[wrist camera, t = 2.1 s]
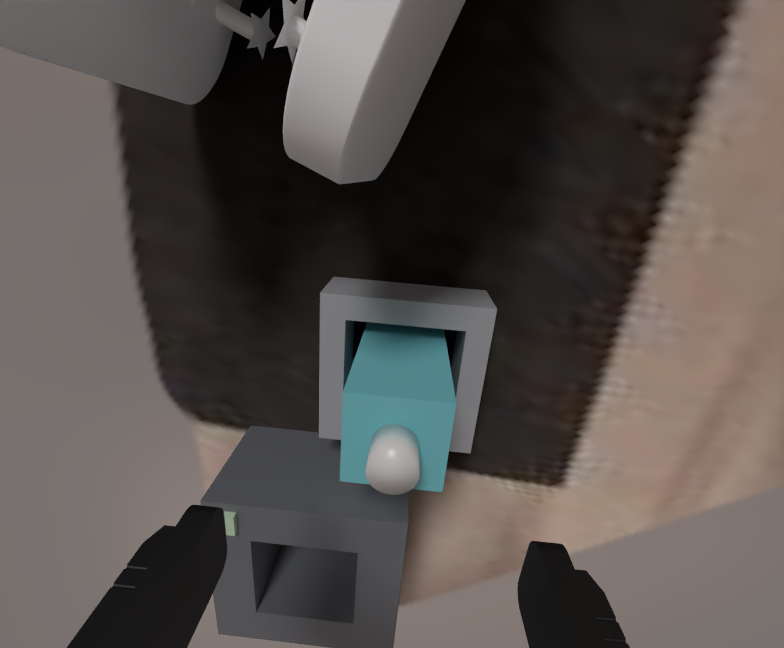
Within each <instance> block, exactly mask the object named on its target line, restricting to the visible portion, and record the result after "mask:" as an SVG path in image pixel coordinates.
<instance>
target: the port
mask: <svg viewBox="0 0 784 648" xmlns="http://www.w3.org/2000/svg"><path fill="white" fill-rule="evenodd" d="M340 457H341V440H336V439H326V438H319V432H309V431H300V430H290V429H280V428H271V427H261V426H250V428H249V429H248V431H247V432H246V434H245V435H244V437H243V438H242V440H241V441H240V443H239V444H238V446H237V447H236V449H235V450H234V452H233V453H232V455H231V456H230V458H229V459H228V461H227V462H226V463H225V465H224V466H223V468H222V469H221V471H220V472H219V474H218V475H217V477H216V478H215V480H214V481H213V483H212V484H211V486H210V487H209V489H208V490H207V492H206V493H205V495H204V496H203V498H202V499H201V506H211V507H220V508H222V509H223V510H224V518H225V528H226V539H227V557H226V562H225V566H224V569H223V572H222V575H221V577H220V579H219V581H218V583H217V585H216V587H215V590H214V592H213V596H214V603H215V610H216V618H217V626H218V632H219V634H223V635H231V636H240V637H249V638H256V639H265V640H273V641H281V642H290V643H298V644H306V645H314V646H323V647H331V648H393V644H394V636H395V628H396V619H397V612H398V604H399V596H400V588H401V579H402V571H403V563H404V555H405V547H406V539H407V531H408V518H409V491H408V492H406V493H403V494H398V495H390V494H385V493H382V492H379V491H378V490H376V489H374V488H373V487H372V486H371V485H370V484H361V483H352V482H342V481H340Z"/></svg>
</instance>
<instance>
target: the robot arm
mask: <svg viewBox="0 0 784 648" xmlns="http://www.w3.org/2000/svg"><path fill="white" fill-rule="evenodd" d="M226 557H227V539H226V528H225V518H224V510H223V509H222V508H220V507H211V506H201V505H192V506H190V507H189V508H188V509H187V510H186V512H185V513H184V515H183V516H182V518H181V519H180V521H179V522H178V524H177V525H176V527H175V526H165V525H164V526H163V527H162V528H161V529H160V530H158V531H157V532H156V533H155V534H153V535H152V536H151V537H150V538H148V539H147V540H146V541H145V542H144V543H143V544H142V545H141V547H140V548H139V549H138V551H137V552H136V553H135V555H134V556H133V557H132V559H131V560H130V562H129V563H128V564H127V568H126V569H124V570H123V571H122V573H121V574H120V575H119V577H118V578H117V579H116V581H115V582H114V585H113V587H112V588H110V589H109V590H108V592H107V593H106V595H105V596H104V597H103V599H102V600H101V601H100V603H99V604H98V605H97V607H96V608H95V610H94V611H93V612H92V614H91V615H90V616H89V618H88V619H87V621H86V622H85V623H84V625H83V626H82V628H81V629H80V630H79V632H78V633H77V634H76V636H75V637H74V639H73V640H72V641H71V643H70V644H69V645H68V647H67V648H187V646H188V644H189V642H190V640H191V638H192V636H193V634H194V632H195V630H196V627H197V625H198V623H199V621H200V619H201V617H202V614H203V613H204V611H205V609H206V606H207V604H208V602H209V600H210V598H211V596H212V594H213V592H214V590H215V587H216V585H217V583H218V581H219V579H220V577H221V575H222V572H223V569H224V566H225V562H226ZM518 602H519V608H520V612H521V616H522V620H523V624H524V628H525V632H526V636H527V640H528V644H529V648H630V647H629V645H628V644H626V641H625V639H626V638H625V637H624V634H623V632H622V630H621V628H620V626H619V623H617V622H616V617H615V615H614V613H613V611H612V608H611V606H610V604H609V602H608V600H607V598H606V595H605V593H604V592H603V591H602V589H601V588H600V587H599V586H598V585H597V583H596V582H595V581H594V580H593V578H592V577H591V576H590V575H589V574H588V572H587V571H584V570H575V569H574V567H573V564H572V562H571V559H570V557H569V554H568V552H567V550H566V548H565V547H564V546H563V545H562V544H557V543H547V542H538V541H531V542H530V544H529V547H528V550H527V554H526V557H525V560H524V564H523V567H522V570H521V574H520V577H519V582H518Z"/></svg>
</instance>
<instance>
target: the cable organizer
mask: <svg viewBox="0 0 784 648" xmlns="http://www.w3.org/2000/svg"><path fill="white" fill-rule="evenodd" d="M465 1H466V0H314V2H313V4H312V7H311V10H310V13H309V16H308V19H307V21H305V19H304V17H303V14H304V7H305V0H298V1H297V2H296V4H295V5H294V4H293V3H292V2H291V1H290V0H282V2H283V16H284V25H283V28H282V30H281V32H280V34H279V37H278V39H277V41H276V44H275V46H274V48H277V47H283V46H288V50H289V54H290V58H291V62H292V64H293V60H294V56H295V52H296V48H297V49H298V50H297V53H296V57H295V61H294V64H293V69H292V73H291V77H290V81H289V86H288V91H287V97H286V103H285V109H284V120H283V143H284V148H285V152H286V153H287V155H288V157H289V158H291V159H293V160H294V161H296V162H298V163H300V164H302V165H304V166H306V167H308V168H309V169H311V170H313V171H315V172H317V173H319V174H321V175H322V176H324V177H326V178H328V179H330V180H332V181H334V182H336V183H337V184H347V183H355V182H364V181H372V180H375V179H376V178H377V177H378V176H379V175H380V174H381V172H382V171H383V169H384V168H385V166H386V165H387V163H388V162H389V160H390V158H391V156H392V155H393V153H394V151H395V149H396V147H397V145H398V143H399V141H400V139H401V137H402V135H403V133H404V131H405V129H406V127H407V125H408V123H409V120H410V118H411V116H412V114H413V112H414V110H415V108H416V105H417V103H418V101H419V99H420V97H421V95H422V93H423V90H424V88H425V86H426V84H427V82H428V80H429V78H430V76H431V73H432V71H433V69H434V67H435V65H436V63H437V61H438V58H439V56H440V54H441V52H442V50H443V48H444V46H445V43H446V41H447V39H448V37H449V35H450V33H451V31H452V29H453V26H454V24H455V22H456V20H457V18H458V16H459V14H460V11H461V9H462V7H463V5H464V3H465ZM241 4H242V0H0V46H2V47H4V48H7V49H9V50H11V51H14V52H17V53H21V54H24V55H27V56H31V57H34V58H37V59H40V60H43V61H47V62H50V63H54V64H57V65H60V66H63V67H66V68H70V69H73V70H76V71H80V72H83V73H86V74H89V75H93V76H96V77H99V78H103V79H106V80H109V81H112V82H116V83H119V84H122V85H125V86H129V87H132V88H135V89H139V90H142V91H145V92H148V93H152V94H155V95H158V96H162V97H165V98H168V99H171V100H175V101H178V102H181V103H185V104H190V105H192V104H196V103H198V102H199V101H201V100H202V99H203V98H204V97H205V96H206V95H207V94H208V93H209V92H210V90H211V89H212V87H213V86H214V84H215V82H216V81H217V79H218V77H219V74H220V72H221V70H222V68H223V65H224V62H225V59H226V56H227V52H228V49H229V45H230V42H231V39H232V35H233V32H234V31H235V32H237V33H238V34H240V35H242V36H244V37H245V38H247V39H249V40H250V42H249V45H248V47H247V49H248V48H253V47H258V49H259V52H260V54H261V57H262V60H263V57H264V52H265V48H266V43H267V42H269V41H270V40H272V39H273V38H274V37H276V36H275V35H274V33H273V32H272V30H271V29H270V28H269V16H270V8H269V9H268V10H267V12H266V13H265V14H264V16H263V17H262V19H260V18H259V17H257V16H256V15H254V14H252V13H251V17H252V18H250V17H249V16H247V15H245V14H243V13H242V12H240V7H241Z"/></svg>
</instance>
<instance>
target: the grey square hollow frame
mask: <svg viewBox="0 0 784 648" xmlns="http://www.w3.org/2000/svg"><path fill="white" fill-rule="evenodd" d="M496 312H497V308H496V306H495V305H494V303H493V301H492V300H491V298H490V296H489V294H488V293H487V291H486V290H476V289H464V288H453V287H442V286H431V285H420V284H409V283H398V282H387V281H376V280H365V279H354V278H343V277H333V278H332V279H331V280H330V282H329V283H328V284H327V285H326V286H325V288H324V289H323V290H322V291H321V292H320V371H319V438H326V439H336V440H341V428H342V399H343V390H344V387H345V384H346V381H347V379H348V376H349V373H350V370H351V367H352V364H353V342H354V321H362V322H372V323H383V324H394V325H404V326H415V327H426V328H436V329H447V330H457V332H456V339H455V346H454V353H453V359H452V366H451V374H452V380H453V386H454V392H455V398H456V410H455V416H454V423H453V429H452V435H451V441H450V448H449V451H451V452H461V453H471V448H472V442H473V437H474V431H475V426H476V421H477V415H478V410H479V404H480V399H481V393H482V388H483V383H484V377H485V372H486V366H487V361H488V356H489V350H490V345H491V339H492V334H493V329H494V323H495V318H496Z"/></svg>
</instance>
